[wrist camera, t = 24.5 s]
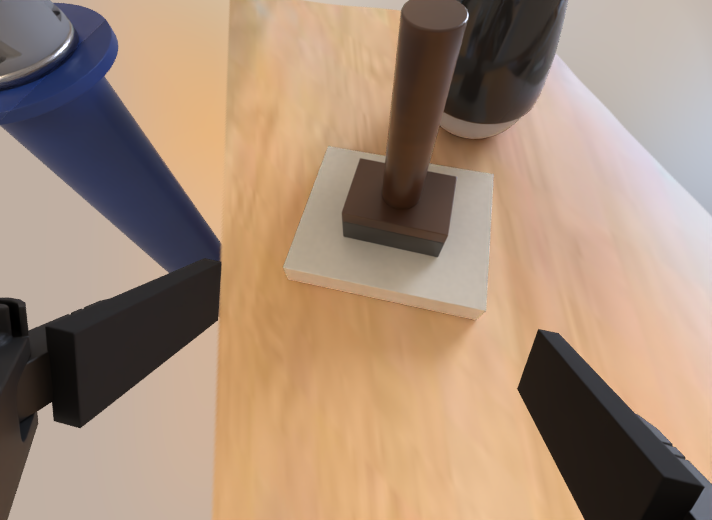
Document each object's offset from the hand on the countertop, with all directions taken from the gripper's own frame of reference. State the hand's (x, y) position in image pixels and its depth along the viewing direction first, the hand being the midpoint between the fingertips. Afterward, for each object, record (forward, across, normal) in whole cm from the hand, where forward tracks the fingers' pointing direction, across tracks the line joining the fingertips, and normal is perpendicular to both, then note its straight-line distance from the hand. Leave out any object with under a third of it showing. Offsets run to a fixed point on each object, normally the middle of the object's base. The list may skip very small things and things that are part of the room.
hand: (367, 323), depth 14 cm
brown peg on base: (+13, 0, +3) cm, 13 cm away
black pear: (+24, +5, +12) cm, 28 cm away
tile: (+14, 0, +2) cm, 14 cm away
